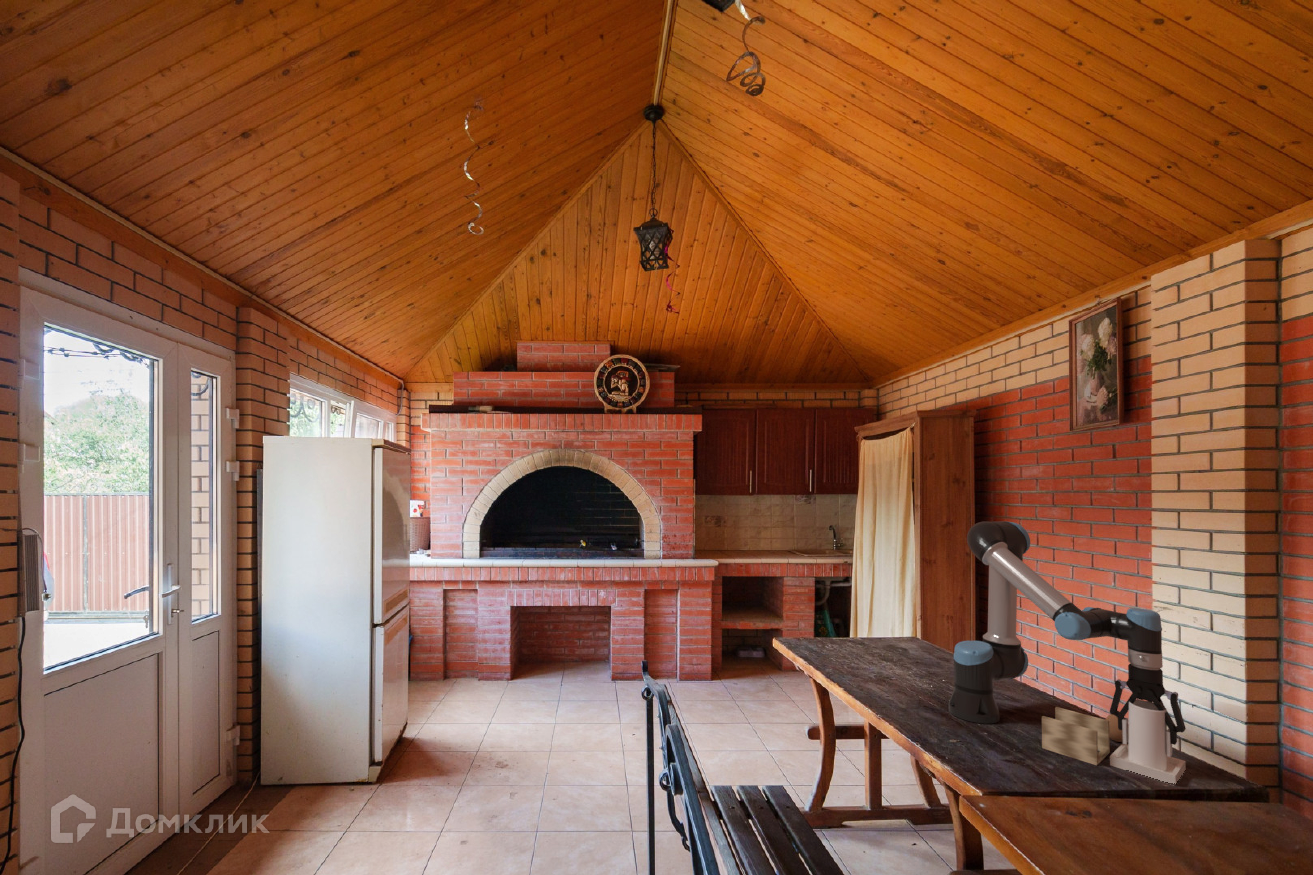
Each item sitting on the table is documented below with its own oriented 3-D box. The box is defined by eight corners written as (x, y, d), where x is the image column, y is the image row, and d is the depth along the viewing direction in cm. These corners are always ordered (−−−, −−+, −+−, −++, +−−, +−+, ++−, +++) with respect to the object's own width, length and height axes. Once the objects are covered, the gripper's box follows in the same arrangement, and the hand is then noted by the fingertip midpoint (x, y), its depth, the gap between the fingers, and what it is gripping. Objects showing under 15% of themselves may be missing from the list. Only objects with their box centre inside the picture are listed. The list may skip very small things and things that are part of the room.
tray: (1110, 765, 167) (1109, 755, 167) (1122, 751, 176) (1122, 742, 176) (1175, 785, 156) (1175, 775, 157) (1185, 770, 165) (1185, 760, 166)
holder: (1042, 747, 177) (1041, 716, 178) (1056, 736, 186) (1056, 706, 186) (1096, 765, 167) (1096, 732, 167) (1109, 752, 175) (1109, 720, 176)
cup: (1173, 773, 161) (1173, 712, 162) (1139, 768, 163) (1139, 708, 164) (1155, 758, 170) (1155, 701, 170) (1122, 754, 171) (1122, 697, 172)
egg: (1125, 747, 179) (1124, 719, 180) (1100, 739, 185) (1099, 711, 185) (1134, 743, 182) (1133, 715, 183) (1109, 735, 188) (1109, 708, 189)
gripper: (1094, 658, 174) (1096, 738, 172) (1194, 679, 158) (1196, 767, 156) (1102, 654, 179) (1103, 732, 177) (1198, 673, 162) (1201, 759, 161)
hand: (1147, 748), depth 167 cm, fingers open, 9 cm apart
